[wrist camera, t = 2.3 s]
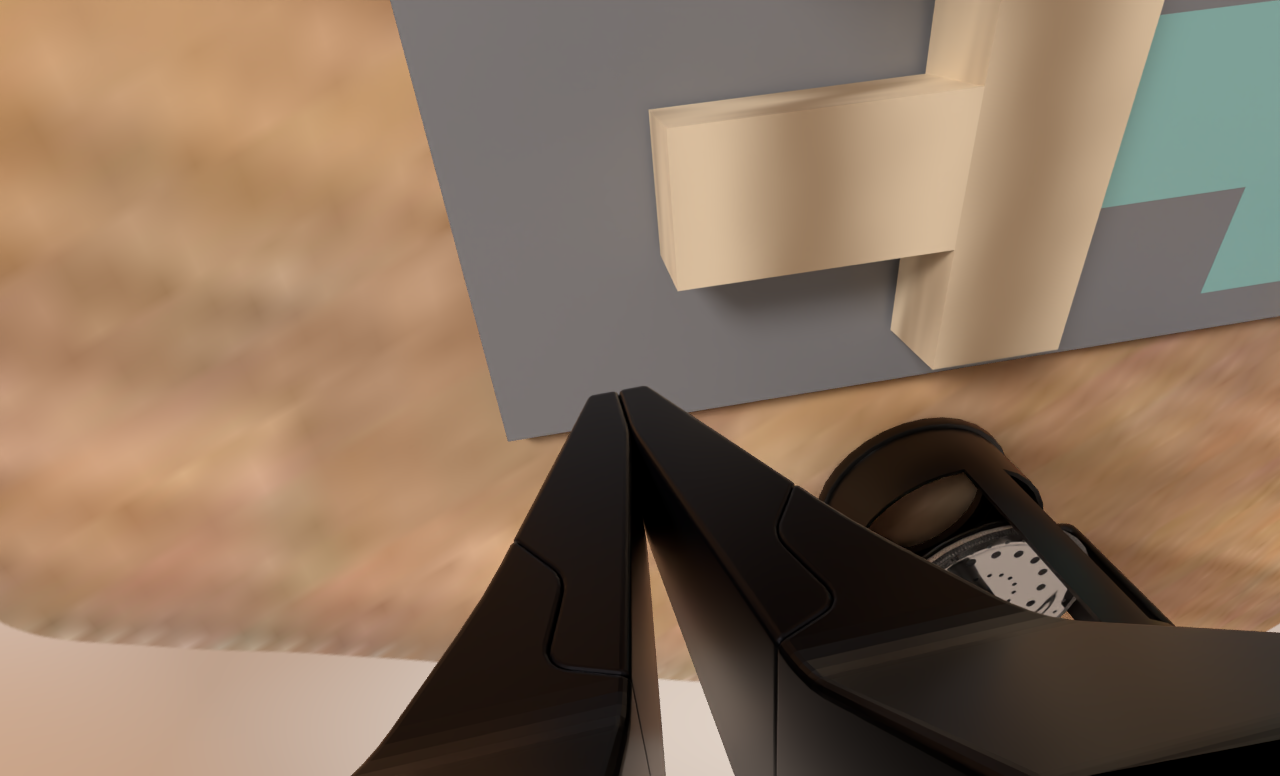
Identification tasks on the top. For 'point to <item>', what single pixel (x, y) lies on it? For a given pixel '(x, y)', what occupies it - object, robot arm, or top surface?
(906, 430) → the french press
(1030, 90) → the maple T-block
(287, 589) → the top surface
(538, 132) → the board
